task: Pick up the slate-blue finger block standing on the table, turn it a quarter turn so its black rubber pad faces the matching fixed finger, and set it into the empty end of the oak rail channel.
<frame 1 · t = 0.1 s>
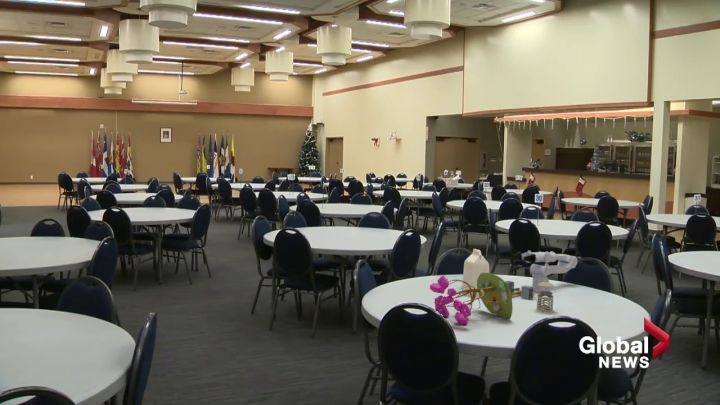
hand: (518, 257, 369), 22 cm above the table, tool horizontal, fingers open, 7 cm apart
magenta flower sprig: (468, 319, 315), on the table
rail: (513, 294, 372), on the table
french press: (543, 311, 334), on the table
milk: (475, 295, 370), on the table
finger: (527, 298, 362), on the table
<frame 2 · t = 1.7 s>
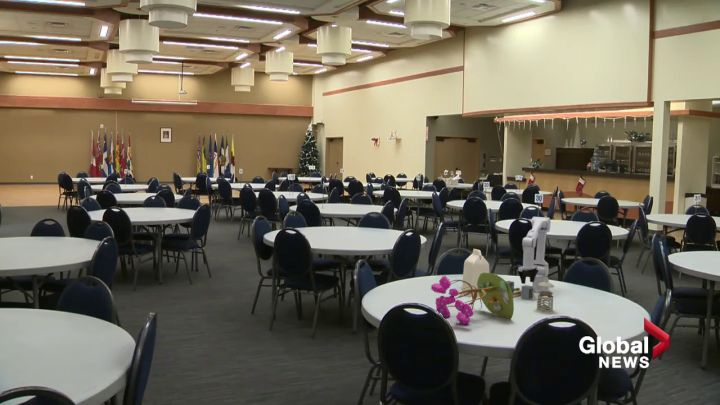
hand: (527, 282, 361), 9 cm above the table, tool pointing down, fingers open, 7 cm apart
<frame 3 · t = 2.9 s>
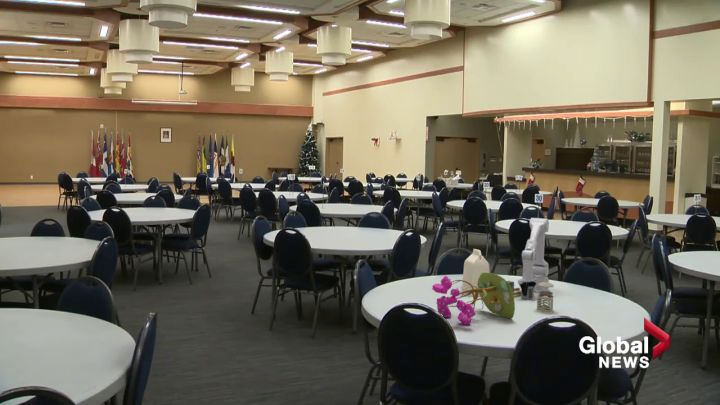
hand: (527, 295, 362), 2 cm above the table, tool pointing down, fingers closed on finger, 4 cm apart
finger: (527, 298, 362), on the table, touching gripper
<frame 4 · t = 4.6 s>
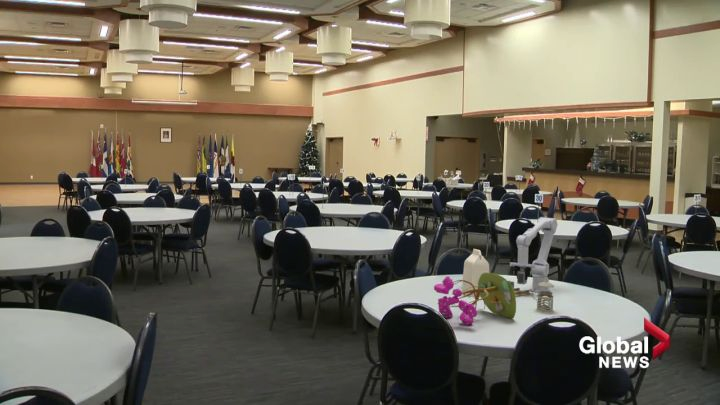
hand: (522, 279, 371), 9 cm above the table, tool pointing down, fingers closed on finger, 4 cm apart
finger: (522, 283, 371), point 7 cm above the table, touching gripper
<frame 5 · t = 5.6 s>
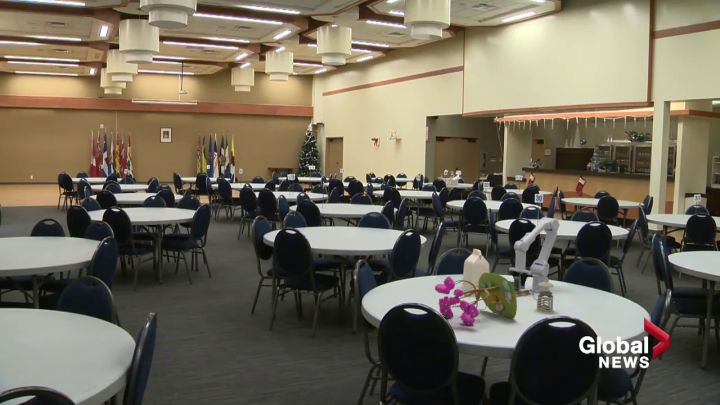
hand: (519, 285, 375), 5 cm above the table, tool pointing down, fingers closed on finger, 4 cm apart
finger: (519, 288, 375), point 3 cm above the table, touching gripper
when the fingers open (4 cm above the table, at t = 6.2 s): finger stays where it is, resting on rail.
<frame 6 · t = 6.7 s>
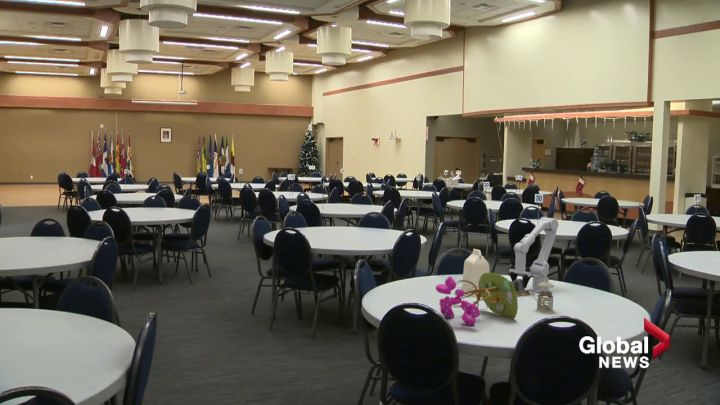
hand: (519, 286, 375), 4 cm above the table, tool pointing down, fingers open, 7 cm apart
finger: (519, 291, 375), point 1 cm above the table, touching rail
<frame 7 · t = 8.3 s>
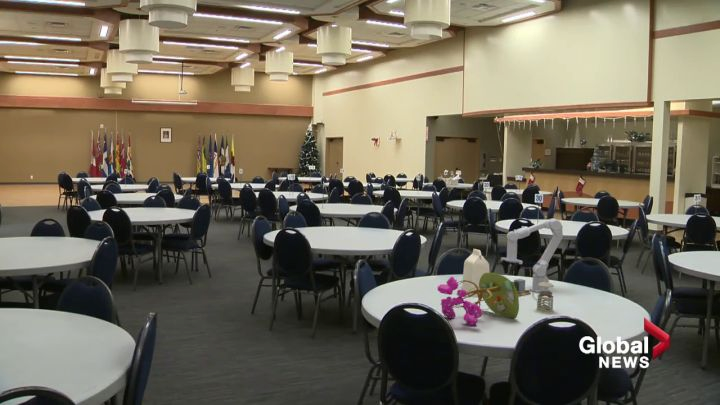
hand: (511, 274, 383), 9 cm above the table, tool pointing down, fingers open, 7 cm apart
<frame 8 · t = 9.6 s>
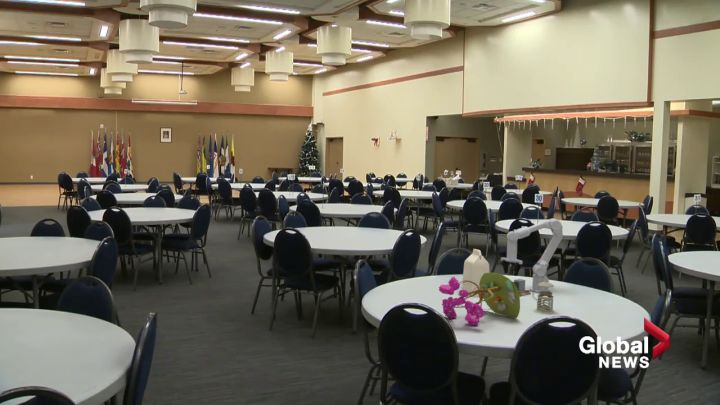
hand: (511, 274, 383), 9 cm above the table, tool pointing down, fingers open, 7 cm apart
at the end: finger 0.1 cm from the target spot on the rail, point 1.0 cm above the rail's base; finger tilted 0°; the gripper is holding nothing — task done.
